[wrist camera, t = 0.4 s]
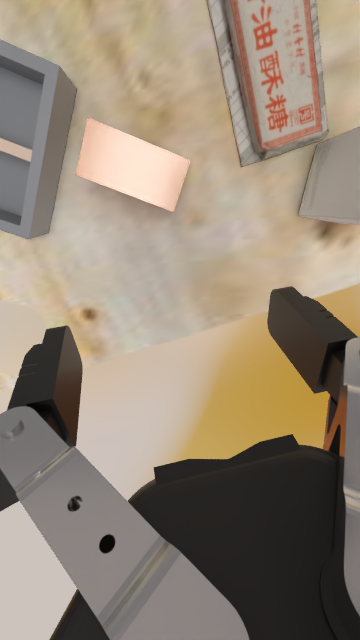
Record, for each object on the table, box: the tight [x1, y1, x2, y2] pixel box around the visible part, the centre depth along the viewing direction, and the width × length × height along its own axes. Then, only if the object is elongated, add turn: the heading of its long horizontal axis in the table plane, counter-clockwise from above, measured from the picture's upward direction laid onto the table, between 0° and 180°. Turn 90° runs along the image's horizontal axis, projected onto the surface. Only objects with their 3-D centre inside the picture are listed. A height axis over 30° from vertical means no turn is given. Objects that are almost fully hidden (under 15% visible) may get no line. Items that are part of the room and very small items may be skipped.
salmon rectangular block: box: [76, 118, 191, 212], centre depth 29 cm, size 4×8×12 cm, turn 70°
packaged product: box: [207, 0, 329, 167], centre depth 29 cm, size 18×5×10 cm
